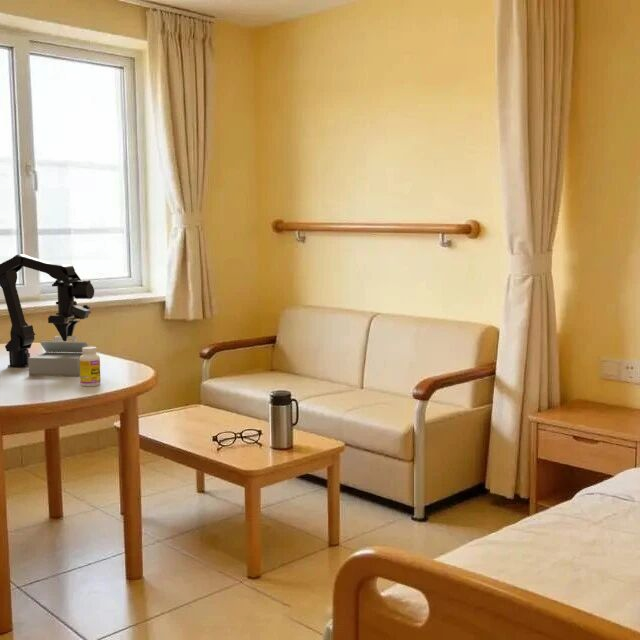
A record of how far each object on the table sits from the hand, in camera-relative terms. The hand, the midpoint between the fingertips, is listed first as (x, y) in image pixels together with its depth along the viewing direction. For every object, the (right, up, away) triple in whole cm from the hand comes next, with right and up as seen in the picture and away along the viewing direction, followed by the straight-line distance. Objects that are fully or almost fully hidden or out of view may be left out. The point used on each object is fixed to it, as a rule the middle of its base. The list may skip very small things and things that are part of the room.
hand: (67, 340), depth 290 cm
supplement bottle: (+16, -15, -26) cm, 34 cm away
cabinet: (-1, -12, -5) cm, 12 cm away
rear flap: (0, -3, -1) cm, 3 cm away
